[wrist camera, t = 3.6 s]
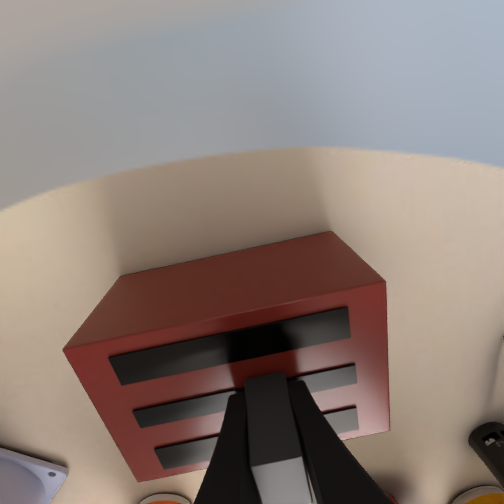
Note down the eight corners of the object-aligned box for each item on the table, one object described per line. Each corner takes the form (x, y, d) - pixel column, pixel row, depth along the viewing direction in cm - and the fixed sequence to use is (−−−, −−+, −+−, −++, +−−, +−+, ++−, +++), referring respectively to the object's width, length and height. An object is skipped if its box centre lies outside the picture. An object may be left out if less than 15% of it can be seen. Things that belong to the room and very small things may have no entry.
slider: (284, 370, 11) (303, 454, 8) (293, 413, 12) (314, 503, 9) (243, 378, 11) (248, 466, 8) (255, 421, 12) (264, 514, 9)
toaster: (332, 230, 16) (388, 282, 10) (343, 344, 19) (391, 433, 13) (119, 275, 16) (59, 351, 10) (164, 382, 19) (136, 486, 13)
